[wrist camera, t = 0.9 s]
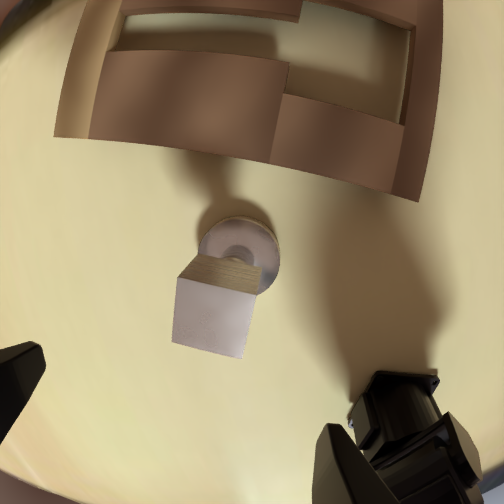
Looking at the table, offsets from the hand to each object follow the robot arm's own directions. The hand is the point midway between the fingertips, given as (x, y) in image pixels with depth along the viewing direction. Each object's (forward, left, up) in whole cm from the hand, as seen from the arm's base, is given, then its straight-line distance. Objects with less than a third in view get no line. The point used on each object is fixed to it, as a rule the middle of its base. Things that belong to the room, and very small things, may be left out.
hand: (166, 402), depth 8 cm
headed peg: (0, 0, -13) cm, 13 cm away
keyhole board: (+2, -13, -13) cm, 19 cm away
